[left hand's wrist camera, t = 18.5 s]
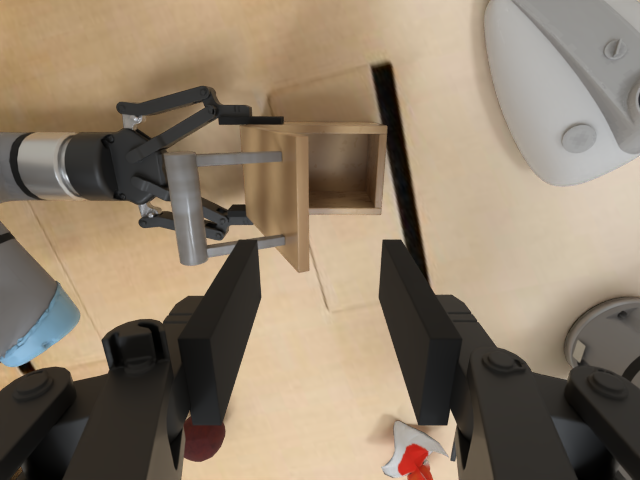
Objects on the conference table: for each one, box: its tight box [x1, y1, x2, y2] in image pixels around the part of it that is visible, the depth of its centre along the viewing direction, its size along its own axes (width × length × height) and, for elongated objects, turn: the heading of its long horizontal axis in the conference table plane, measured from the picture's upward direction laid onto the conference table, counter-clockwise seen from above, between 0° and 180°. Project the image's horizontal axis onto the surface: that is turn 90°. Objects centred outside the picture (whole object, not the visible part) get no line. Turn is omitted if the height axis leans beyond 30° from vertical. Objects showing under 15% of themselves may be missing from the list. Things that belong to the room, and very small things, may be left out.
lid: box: [164, 125, 309, 273], centre depth 28 cm, size 15×9×8 cm
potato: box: [183, 417, 225, 462], centre depth 57 cm, size 7×8×7 cm
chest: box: [248, 122, 387, 215], centre depth 41 cm, size 14×9×9 cm, turn 90°
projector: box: [484, 0, 640, 186], centre depth 35 cm, size 22×23×15 cm
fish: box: [381, 421, 449, 480], centre depth 60 cm, size 11×16×10 cm
